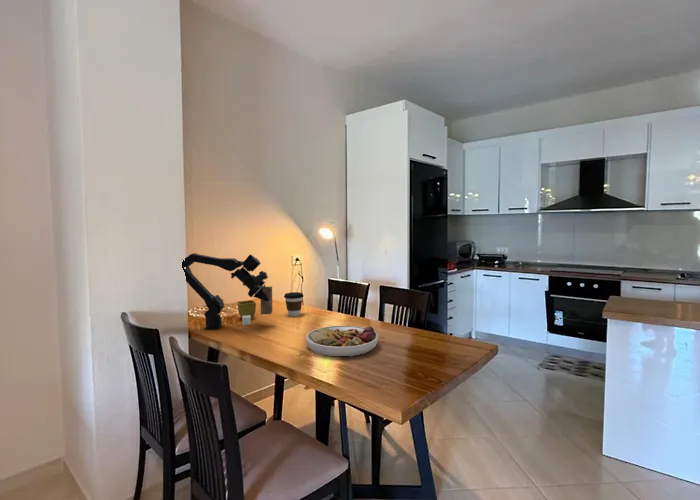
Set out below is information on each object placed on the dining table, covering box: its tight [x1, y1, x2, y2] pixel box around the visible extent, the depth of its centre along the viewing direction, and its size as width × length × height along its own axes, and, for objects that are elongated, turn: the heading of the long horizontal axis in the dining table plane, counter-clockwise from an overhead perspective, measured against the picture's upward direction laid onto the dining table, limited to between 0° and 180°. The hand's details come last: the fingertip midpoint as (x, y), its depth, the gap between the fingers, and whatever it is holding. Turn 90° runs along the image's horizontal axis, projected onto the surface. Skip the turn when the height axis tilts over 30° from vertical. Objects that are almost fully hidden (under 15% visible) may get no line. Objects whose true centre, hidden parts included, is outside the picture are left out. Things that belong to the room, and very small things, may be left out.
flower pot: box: [236, 299, 257, 320], centre depth 205 cm, size 9×9×9 cm
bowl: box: [305, 325, 379, 357], centre depth 158 cm, size 30×30×8 cm
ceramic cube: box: [241, 315, 252, 326], centre depth 194 cm, size 4×4×4 cm
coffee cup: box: [283, 291, 304, 317], centre depth 212 cm, size 11×11×12 cm
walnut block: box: [260, 286, 273, 315], centre depth 188 cm, size 5×5×13 cm
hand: (269, 299), depth 188 cm, fingers closed on walnut block, 5 cm apart
